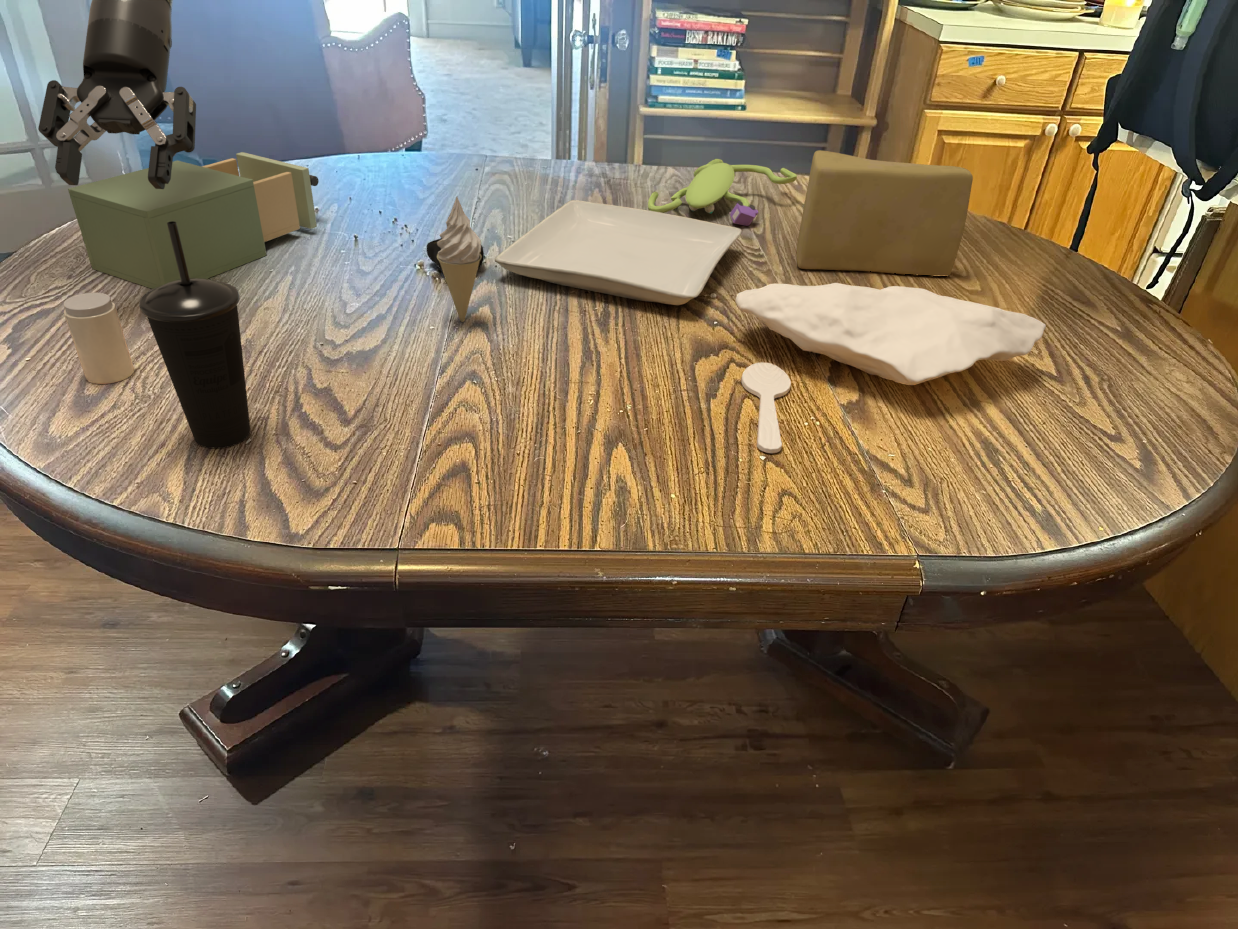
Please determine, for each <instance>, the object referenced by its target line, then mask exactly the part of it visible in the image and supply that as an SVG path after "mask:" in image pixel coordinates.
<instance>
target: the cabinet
mask: <svg viewBox="0 0 1238 929" xmlns="http://www.w3.org/2000/svg"><path fill="white" fill-rule="evenodd" d="M148 170H149V167H147V168H143V169H142V168H141V169H139V170H135V171H132V172H127V173H124V174H123V173H122V174H120V175H116V176H115V175H114V176H112V177H108V178H104V179H100V180H96V181H94V182H88V183H85V184H81V185H76V186H73V187H69V188H67V191H68V194H69V195H68V196H69V197H70V202H71V205H72V208H73V211H74V214H75V217H76V221H77V223H78V226H79V231H80V233H81V237H82V240H83V243H84V247H85V250H86V253H87V256H88V260H89V263H90V266H91V269H92V270H94V271H97V272H101V273H102V274H107V275H110V276H113V277H116V278H118V279H121V280H125V281H127V282H130V283H133V284H135V285H139V286H142V287H146V288H148V289H150V290H152V289H154V288H157V287H159V286H161V285H163V284H166V283H168V282H171V281H175V280H179V279H181V278H180V274H179V270H178V266H177V262H176V258H175V254H174V250H173V246H172V242H171V238H170V234H169V229H168V225H167V222H171V221H174V222H176V223H177V227H178V232H179V236H180V240H181V244H182V248H183V253H184V257H185V261H186V265H187V269H188V274H189V278H203V279H210V278H213V277H216V276H218V275H220V274H223V273H227V272H228V271H231V270H233V269H237V268H238V267H241V266H243V265H246V264H249V263H252V262H253V261H256V260H259V259H261V258H264V257H266V256H267V249H266V244H265V242H264V238H263V233H262V227H261V222H260V216H259V211H258V205H257V200H256V195H255V189H254V183H253V180H252V179H248V178H244V177H240V175H239V176H236V175H232V174H228V173H224V172H221V171H217V170H213V169H209V168H205V167H202V166H201V165H196V164H193V163H188V162H186V161H182V160H174V161H173V162H172V170H171V180H170V181H169V183H168V184H165V188H164V189H155V188H154V187H153V185H152V184H151V183H150V182H149V180H148Z"/></svg>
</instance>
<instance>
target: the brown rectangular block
mask: <svg viewBox="0 0 1238 929" xmlns="http://www.w3.org/2000/svg"><path fill="white" fill-rule="evenodd" d="M973 179H974V177H973V174H972V172H971V171H970V170H969V169H967V168H964V167H961V166H956V165H955V166H954V165H936V164H921V163H910V162H899V161H896V162H895V161H885V160H877V159H869V158H863V157H859V156H854V155H850V154H845V153H839V152H834V151H827V150H820V149H819V150H816V151H815V152H814V153H813V156H812V161H811V166H810V171H809V176H808V181H807V182H808V183H807V187H806V192H805V199H804V204H803V208H802V209H803V210H802V214H801V220H800V224H799V225H800V226H799V231H798V237H797V241H796V249H795V250H796V254H795V255H796V265H797V267H798V268H799V269H801V270H823V271H827V270H828V271H850V272H851V271H852V272H853V271H855V272H870V271H871V272H872V273H885V274H894V273H896V275H905V274H918V275H949V276H951V274H952V271H953V268H954V265H955V262H956V258H957V255H958V252H959V248H960V246H961V241H962V238H963V235H964V231H965V227H966V222H967V217H968V211H969V205H970V197H971V192H972V187H973V181H974V180H973ZM918 275H917V276H918Z"/></svg>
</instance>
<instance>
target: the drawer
mask: <svg viewBox="0 0 1238 929" xmlns="http://www.w3.org/2000/svg"><path fill="white" fill-rule="evenodd" d="M235 157H236V158H233V157H231V158H227V159H225V160H221V161H217V162H214V163H213V162H212V163H210V164H205V165H202V166H201V167H205V168H209V169H213V170H217V171H221V172H224V173H228V174H232V175H236V176H240V177H244V178H248V179H252V180H253V183H254V189H255V195H256V200H257V205H258V211H259V216H260V222H261V227H262V233H263V238H264V243H267V242H268V241H271V240H274V239H276V238H279V237H282V236H284V235H287V234H290V233H293V232H295V231H297V230H298V231H299V230H300V229H301V228H305V229H309V230H313V229H315V228H317V227H318V224H317V217H316V211H315V210H316V209H315V203H314V196H313V190H312V189H313V188H312V187H317V186H318V184H319V177H318V176H316V175H312V174H310V169H309V167H306V166H302V165H297V164H293V163H289V162H286V161H285V162H284V161H281V160H276V159H272V158H268V157H266V156H265V157H264V156H260V155H257V154H251V153H247V152H244V151H241V152H237V153H235Z"/></svg>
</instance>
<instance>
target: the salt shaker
mask: <svg viewBox="0 0 1238 929" xmlns="http://www.w3.org/2000/svg"><path fill="white" fill-rule="evenodd" d="M62 304H63V308H64V309H63V315H64V318H65V321H66V324H67V327H68V330H69V334H70V336H71V339H72V343H73V344H74V348H75V351H76V354H77V357H78V360H79V362H80V366H81V368H82V372H83V374H84V378H85V380H86V381H87V382H89V383H92V384H95V385H108V384H114V383H115V384H116V383H119V382H121V381H124V380H126V379H128V378H130V377H131V376H132V375H133V374H134V372H135V367H134V364H133V360H132V357H131V353H130V351H129V347H128V344H127V341H126V337H125V333H124V330H123V327H122V324H121V320H120V316H119V314H118V310H117V307H116V304H115V303H114V302H113V301H112V298H111V296H110V295H109V294H107V293H104V292H84V293H78V294H76V295H75V294H74V295H73V296H70V297H68V298H66V299H65V300H64V301H63V303H62Z"/></svg>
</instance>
